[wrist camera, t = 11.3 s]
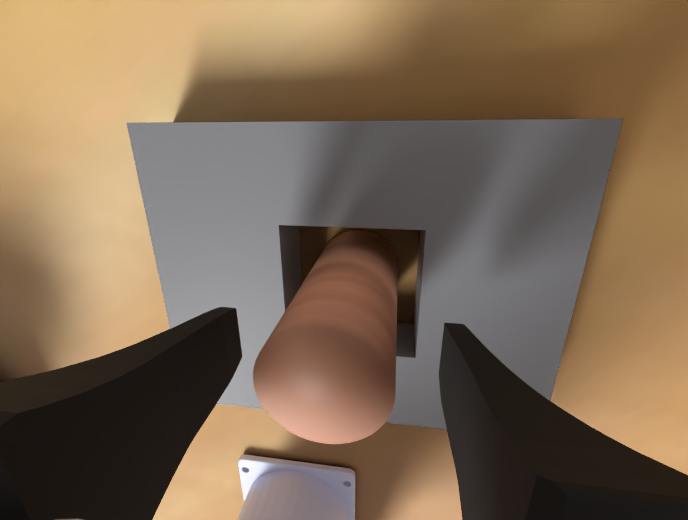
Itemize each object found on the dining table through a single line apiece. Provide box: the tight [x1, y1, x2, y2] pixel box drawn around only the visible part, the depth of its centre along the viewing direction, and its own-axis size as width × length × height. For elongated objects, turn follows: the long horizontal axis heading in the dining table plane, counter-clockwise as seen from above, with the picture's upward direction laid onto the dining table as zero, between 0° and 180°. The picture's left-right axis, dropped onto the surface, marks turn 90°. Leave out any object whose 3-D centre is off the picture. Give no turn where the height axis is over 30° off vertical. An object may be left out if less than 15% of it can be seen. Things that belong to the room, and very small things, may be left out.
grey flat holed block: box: [127, 119, 623, 430], centre depth 17 cm, size 14×18×3 cm
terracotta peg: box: [253, 230, 398, 444], centre depth 14 cm, size 4×4×9 cm
